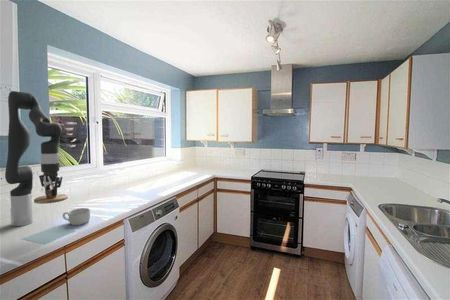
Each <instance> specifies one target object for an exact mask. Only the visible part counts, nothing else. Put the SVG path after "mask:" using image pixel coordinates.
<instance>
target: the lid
mask: <svg viewBox="0 0 450 300" xmlns="http://www.w3.org/2000/svg"><path fill="white" fill-rule="evenodd" d="M68 197H69V196H68V194H62V193H57V196H52V188H51V189H49V190H46V195H41V196H38V197H36V198H34V199H33V203H35V204H37V205H38V204H53V203H54V204H55V203H59V202H63V201H65V200H67V199H69V198H68Z"/></svg>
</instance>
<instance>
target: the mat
mask: <svg viewBox="0 0 450 300" xmlns="http://www.w3.org/2000/svg"><path fill="white" fill-rule="evenodd" d="M73 233H76V230H73V229H68V228H67V229H66V228H61V227H56V226H53V227H50V228H47V229H45V230H42V231H39V232H36V233H34V234H31V235H28V236H26V237H23V238H22V240H23V241H28V242H32V243H36V244H41V245H47V244H49V243H51V242H53V241H56V240H58V239H60V238H63V237H65V236H67V235H69V234H73Z"/></svg>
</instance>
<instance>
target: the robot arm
mask: <svg viewBox="0 0 450 300" xmlns="http://www.w3.org/2000/svg"><path fill="white" fill-rule="evenodd" d="M7 101H8V133H7V157H6V165H5V173H4V176H5V177H4V178H5V181H6V183H7V184H9V185H17V184H18V185H17V186H16V187H15V188H12V189H11V190H10V191H9V192H10V193H9V194H10V195H9V196H10V197H9V198H10V225H11V226H12V227H22V226H27V225H29V224H32V223H33V222H34V221H33V218H34V217H33V199H32V195H33V194H32V190H33V183H34V182H33V181H34V180H33V179H34V178H33V177H34V175H33V170H32V168H31V167H30V166H28V165H27V166H26V165H24V166H23V165H22V166H19V164H20V160H21V159H22V157H23V155H24V154H25V153H26V152H27V150H28V148H29V146H30V143H31V132H30V130H29V128H28V127H27V126H26V124H25V123H24V121H22V119H21V116H20V113H19V110H30V111H29V112H28V118H29V120H30V121H31V123H32V124H33V125H34V128H35V133H36V135H37V136H39V137H40V138H41V137H42V138H45V137H46V138H48V137H49V138H50V139H49V140H47V141H42V142H41V144H40V172H42V174H40V175H38V177H39V181H40V186H41V187H43V188H44V193H45V195H44V196H46V190H49V189H52V196H57V194H58V189H59V188H61V187H62V182H63V176H59V173H58V172H59V171H60V155H59V143H60V139H61V136H62V133H63V128H62V126H61V125H60V123H58V122H51V119H50V118H49V117H48V116H47V114H45V112H44V111H43V110H42V107H41V105H40V103H39V101H38V99H37V98H36V97H35V95H33V94H32V93H28V92H21V91H17V90H11V91H10V92H9V93H8V97H7Z"/></svg>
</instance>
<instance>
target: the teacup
mask: <svg viewBox="0 0 450 300" xmlns="http://www.w3.org/2000/svg"><path fill="white" fill-rule="evenodd" d="M66 215H67V216H68V217H67V216H66ZM62 218H63V219H64V220H66V221H68V222H69V223H70V225H72V226H82V225H85V224H87V223H89V222H90V219H91V209H90V208H87V207H81V208H80V207H79V208H75V209H72V210H70V211H65V212H63V213H62Z"/></svg>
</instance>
